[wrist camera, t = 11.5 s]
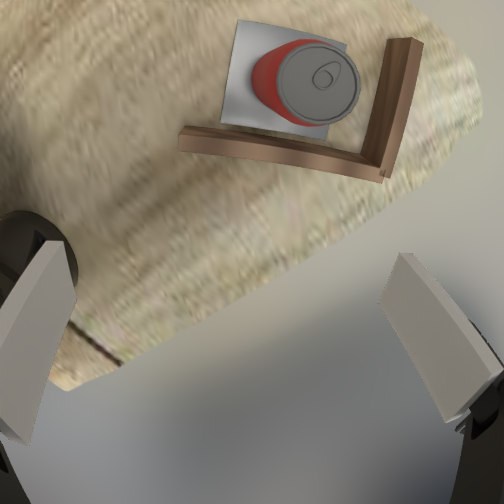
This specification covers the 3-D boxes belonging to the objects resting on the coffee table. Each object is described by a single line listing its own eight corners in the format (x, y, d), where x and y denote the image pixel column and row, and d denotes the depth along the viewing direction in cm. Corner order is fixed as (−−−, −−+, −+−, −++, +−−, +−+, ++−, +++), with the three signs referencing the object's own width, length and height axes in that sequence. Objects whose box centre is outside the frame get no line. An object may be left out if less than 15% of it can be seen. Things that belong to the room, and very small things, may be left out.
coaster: (220, 122, 29) (220, 123, 29) (238, 20, 24) (238, 19, 23) (323, 139, 31) (325, 140, 31) (344, 44, 25) (346, 44, 25)
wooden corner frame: (183, 139, 30) (177, 151, 26) (207, -5, 22) (204, -19, 18) (368, 169, 33) (387, 185, 29) (398, 44, 25) (423, 43, 21)
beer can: (329, 78, 27) (386, 85, 17) (288, 123, 29) (324, 152, 19) (279, 36, 24) (314, 15, 14) (236, 84, 27) (245, 88, 17)
